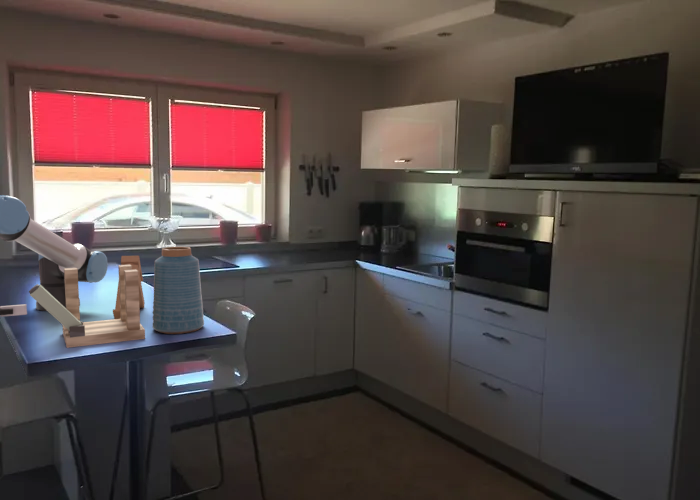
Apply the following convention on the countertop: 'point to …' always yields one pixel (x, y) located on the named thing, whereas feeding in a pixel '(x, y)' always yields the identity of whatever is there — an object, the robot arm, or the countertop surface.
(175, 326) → the vase
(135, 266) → the tan wooden piece
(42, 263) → the robot arm
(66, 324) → the stool leg
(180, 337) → the countertop surface
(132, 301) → the wooden rack
